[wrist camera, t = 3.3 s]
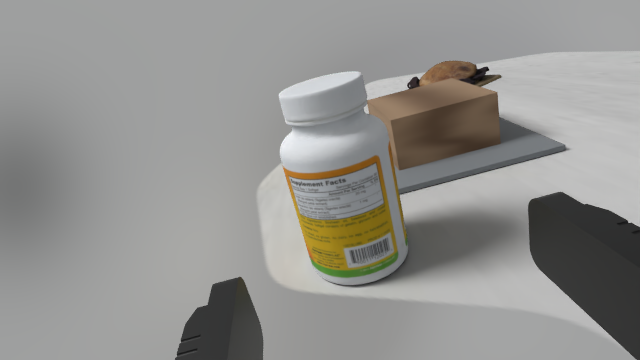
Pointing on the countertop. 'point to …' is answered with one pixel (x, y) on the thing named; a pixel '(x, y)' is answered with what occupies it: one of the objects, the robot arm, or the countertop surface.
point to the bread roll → (454, 74)
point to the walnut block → (438, 121)
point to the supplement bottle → (342, 180)
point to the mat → (480, 158)
